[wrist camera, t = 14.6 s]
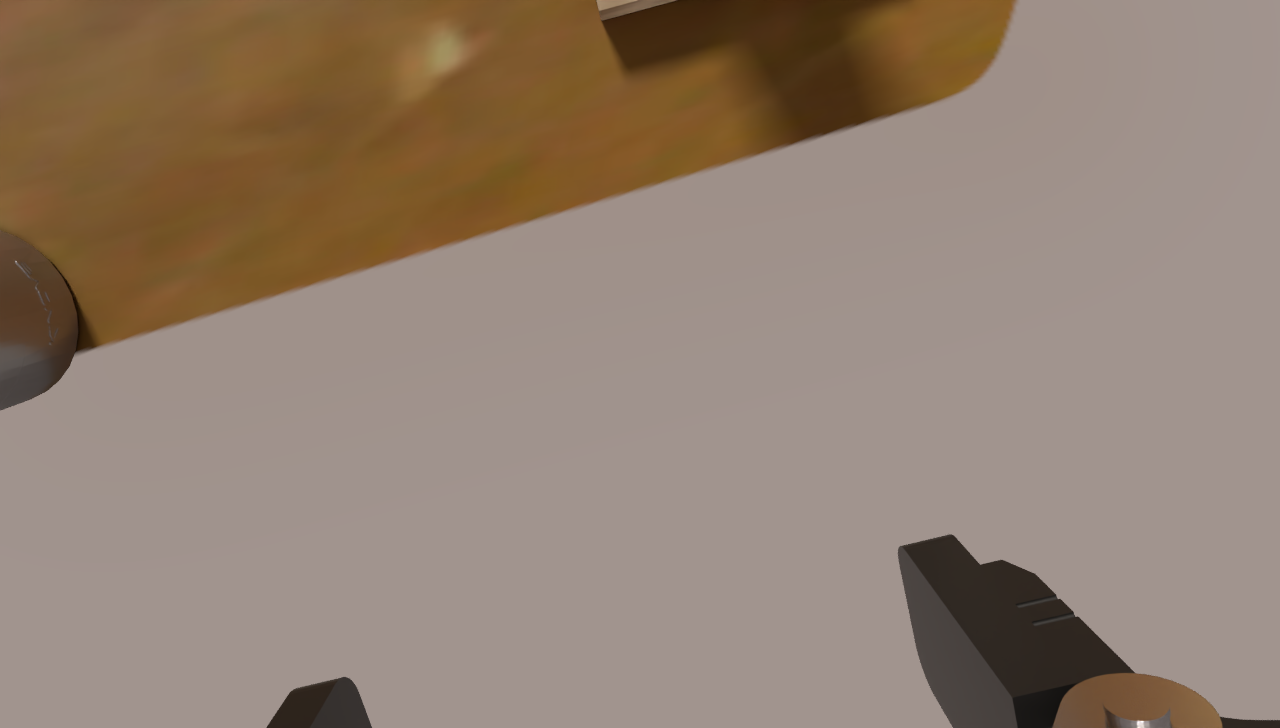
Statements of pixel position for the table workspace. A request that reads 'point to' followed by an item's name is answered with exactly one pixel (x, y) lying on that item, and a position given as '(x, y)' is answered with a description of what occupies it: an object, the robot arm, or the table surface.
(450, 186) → the table surface
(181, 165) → the table surface
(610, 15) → the birch stand
